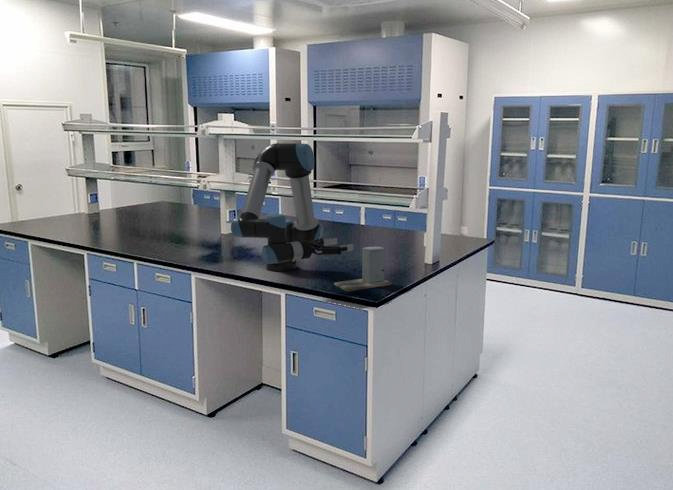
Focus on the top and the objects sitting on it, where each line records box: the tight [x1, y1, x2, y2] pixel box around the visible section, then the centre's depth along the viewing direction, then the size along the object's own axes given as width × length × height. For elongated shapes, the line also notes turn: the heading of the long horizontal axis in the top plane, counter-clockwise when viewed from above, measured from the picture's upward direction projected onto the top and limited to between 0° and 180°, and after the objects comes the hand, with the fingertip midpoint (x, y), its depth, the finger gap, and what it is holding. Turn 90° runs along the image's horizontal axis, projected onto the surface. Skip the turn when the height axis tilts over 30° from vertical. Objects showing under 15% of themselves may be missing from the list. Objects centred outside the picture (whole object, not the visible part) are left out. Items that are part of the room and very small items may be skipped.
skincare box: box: [361, 246, 385, 283], centre depth 240 cm, size 8×6×15 cm
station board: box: [333, 278, 392, 292], centre depth 239 cm, size 12×22×1 cm, turn 118°
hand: (344, 244), depth 234 cm, fingers open, 13 cm apart
